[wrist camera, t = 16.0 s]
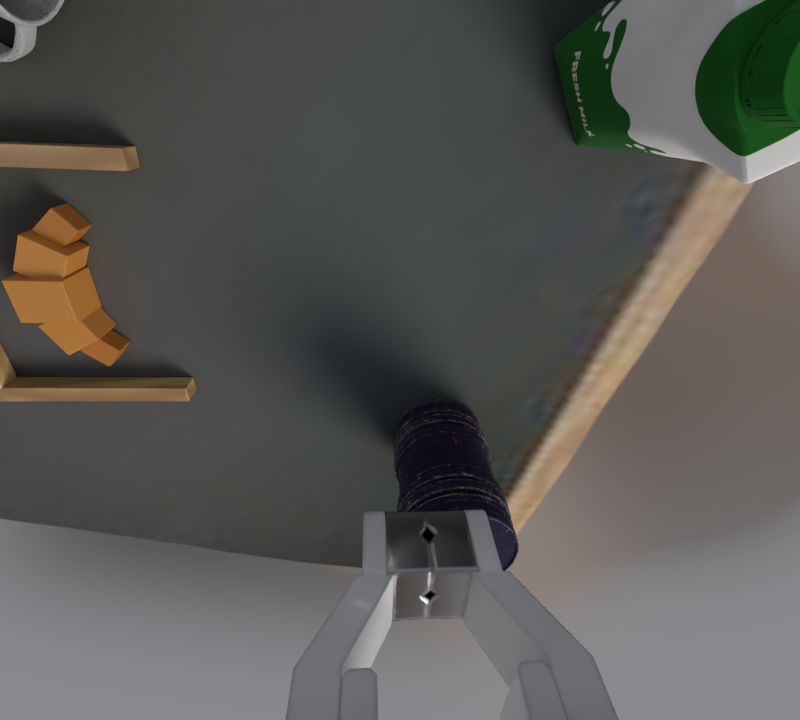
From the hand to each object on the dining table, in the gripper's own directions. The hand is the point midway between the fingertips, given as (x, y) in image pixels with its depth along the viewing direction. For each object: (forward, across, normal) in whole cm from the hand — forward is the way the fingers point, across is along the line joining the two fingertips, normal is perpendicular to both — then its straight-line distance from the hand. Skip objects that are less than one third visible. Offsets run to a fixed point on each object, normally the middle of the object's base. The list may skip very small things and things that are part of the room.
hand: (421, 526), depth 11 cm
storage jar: (+29, -6, +22) cm, 37 cm away
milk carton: (+29, -16, -12) cm, 36 cm away
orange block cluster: (+29, +28, +5) cm, 40 cm away
